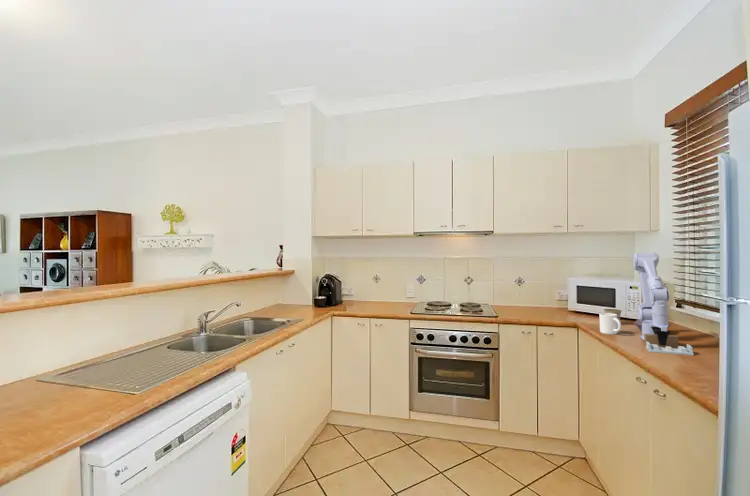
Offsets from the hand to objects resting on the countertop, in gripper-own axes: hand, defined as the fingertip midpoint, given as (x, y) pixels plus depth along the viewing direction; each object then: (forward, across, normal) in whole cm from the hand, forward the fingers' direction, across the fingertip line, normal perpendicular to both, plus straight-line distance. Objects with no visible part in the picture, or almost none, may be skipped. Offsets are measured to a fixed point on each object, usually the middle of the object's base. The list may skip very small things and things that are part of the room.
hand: (661, 343), depth 166 cm
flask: (+2, -34, +3) cm, 35 cm away
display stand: (+1, +8, +1) cm, 9 cm away
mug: (+2, -22, -17) cm, 28 cm away
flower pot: (+2, -52, -13) cm, 54 cm away
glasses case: (+2, 0, 0) cm, 2 cm away
